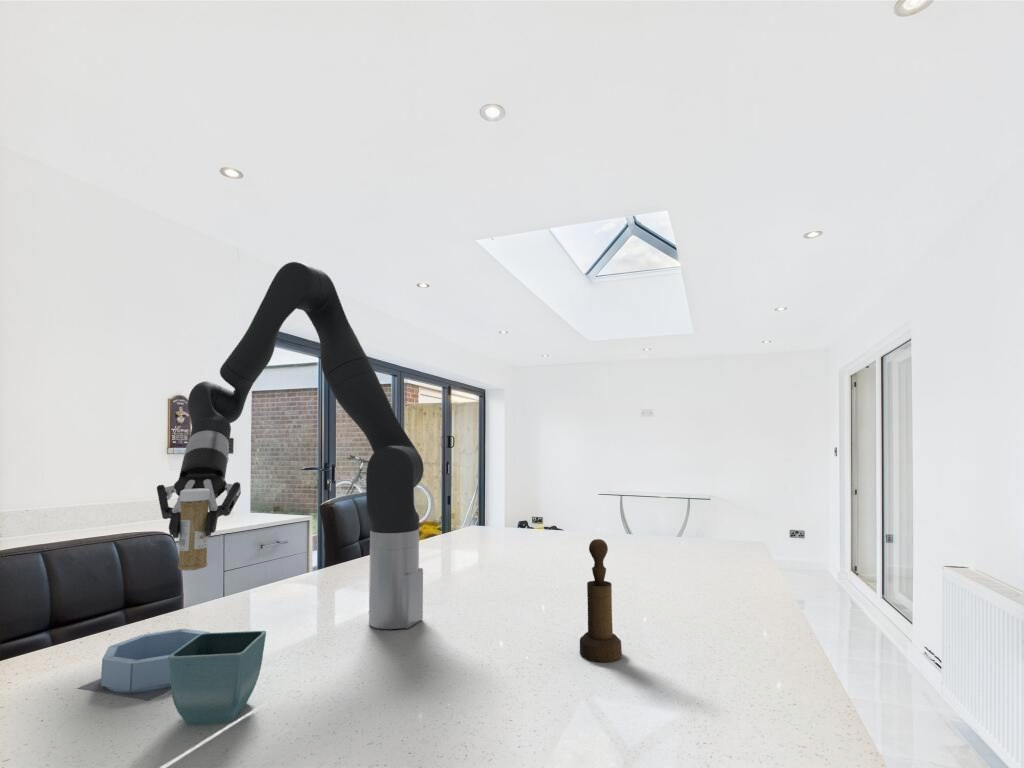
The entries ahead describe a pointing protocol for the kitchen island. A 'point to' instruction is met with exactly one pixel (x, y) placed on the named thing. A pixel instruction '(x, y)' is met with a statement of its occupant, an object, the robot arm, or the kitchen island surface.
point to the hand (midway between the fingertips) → (191, 533)
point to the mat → (143, 696)
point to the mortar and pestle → (599, 612)
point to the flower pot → (215, 675)
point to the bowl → (142, 661)
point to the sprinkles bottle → (193, 529)
